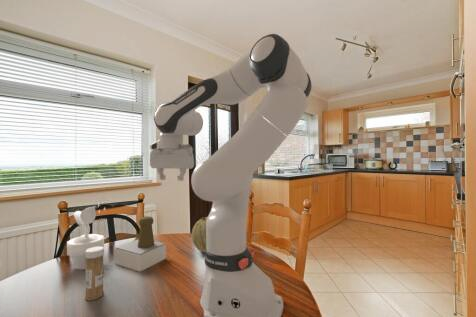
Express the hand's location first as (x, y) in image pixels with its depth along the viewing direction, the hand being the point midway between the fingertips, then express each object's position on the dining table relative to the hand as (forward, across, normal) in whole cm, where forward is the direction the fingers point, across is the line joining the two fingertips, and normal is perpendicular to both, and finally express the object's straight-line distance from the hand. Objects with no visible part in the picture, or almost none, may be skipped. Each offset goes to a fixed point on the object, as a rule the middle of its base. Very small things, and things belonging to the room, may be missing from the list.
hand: (171, 180), depth 88 cm
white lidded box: (+31, +10, +6) cm, 33 cm away
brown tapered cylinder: (+25, +8, +5) cm, 27 cm away
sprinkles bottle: (+31, +2, +28) cm, 42 cm away
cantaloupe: (+31, -8, -14) cm, 35 cm away
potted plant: (+31, +25, +18) cm, 44 cm away
